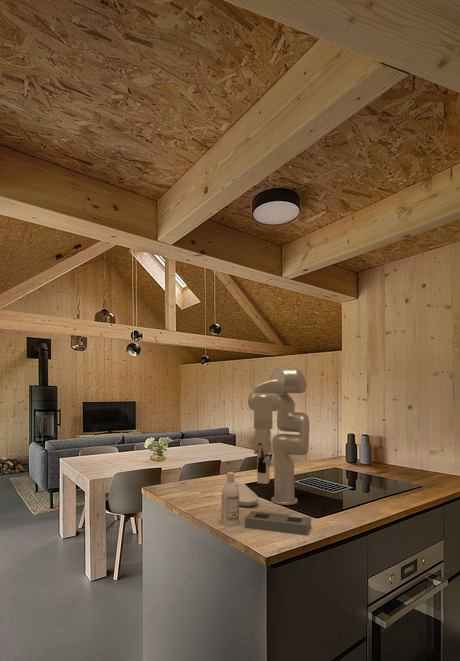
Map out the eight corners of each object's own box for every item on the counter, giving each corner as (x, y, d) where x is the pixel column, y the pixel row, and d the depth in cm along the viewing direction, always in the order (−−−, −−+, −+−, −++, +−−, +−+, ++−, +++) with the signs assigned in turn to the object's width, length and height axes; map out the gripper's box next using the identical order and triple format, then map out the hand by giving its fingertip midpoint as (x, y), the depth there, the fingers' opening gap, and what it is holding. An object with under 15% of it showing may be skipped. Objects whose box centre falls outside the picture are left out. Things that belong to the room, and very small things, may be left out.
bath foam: (242, 524, 165) (242, 472, 168) (230, 528, 160) (231, 475, 163) (229, 520, 170) (230, 470, 173) (217, 524, 165) (218, 472, 168)
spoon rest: (261, 508, 187) (261, 492, 188) (236, 510, 185) (236, 493, 186) (249, 495, 211) (249, 480, 211) (226, 496, 208) (226, 481, 209)
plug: (259, 480, 168) (259, 455, 169) (270, 481, 166) (270, 456, 167) (257, 482, 164) (257, 456, 165) (268, 483, 162) (268, 457, 164)
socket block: (251, 521, 170) (251, 510, 170) (310, 528, 162) (310, 517, 162) (244, 529, 160) (244, 517, 161) (307, 536, 153) (306, 525, 153)
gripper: (259, 422, 177) (259, 467, 175) (248, 426, 161) (248, 475, 159) (276, 423, 175) (277, 468, 172) (267, 427, 159) (267, 476, 157)
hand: (263, 471), depth 166 cm, fingers closed on plug, 4 cm apart
